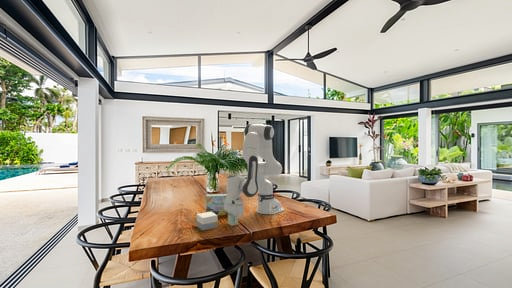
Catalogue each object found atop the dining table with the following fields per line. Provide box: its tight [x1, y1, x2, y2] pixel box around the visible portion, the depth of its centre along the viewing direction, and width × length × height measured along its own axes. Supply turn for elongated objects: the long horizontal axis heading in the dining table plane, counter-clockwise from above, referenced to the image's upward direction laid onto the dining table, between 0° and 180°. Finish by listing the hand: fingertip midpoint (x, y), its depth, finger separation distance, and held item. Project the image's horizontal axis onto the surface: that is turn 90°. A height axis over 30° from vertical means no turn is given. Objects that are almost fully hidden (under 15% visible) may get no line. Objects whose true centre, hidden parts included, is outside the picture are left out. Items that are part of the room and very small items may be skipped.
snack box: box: [205, 193, 228, 216], centre depth 179 cm, size 21×6×15 cm, turn 101°
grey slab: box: [195, 219, 218, 231], centre depth 153 cm, size 10×10×4 cm
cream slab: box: [196, 211, 219, 224], centre depth 153 cm, size 10×10×4 cm
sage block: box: [227, 214, 239, 227], centre depth 158 cm, size 5×5×6 cm
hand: (233, 220), depth 158 cm, fingers closed on sage block, 5 cm apart
